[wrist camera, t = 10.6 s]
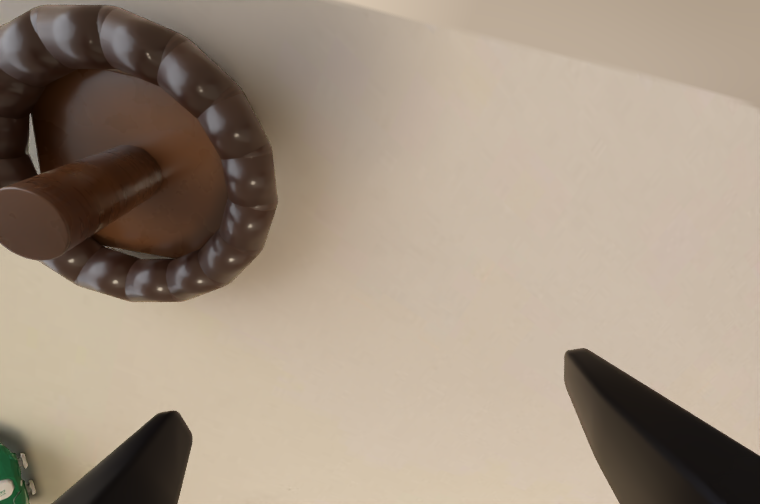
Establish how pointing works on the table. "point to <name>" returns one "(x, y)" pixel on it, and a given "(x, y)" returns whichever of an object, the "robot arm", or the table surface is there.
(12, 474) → the gaming controller
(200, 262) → the ring
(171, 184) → the peg stand
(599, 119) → the table surface
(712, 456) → the robot arm
